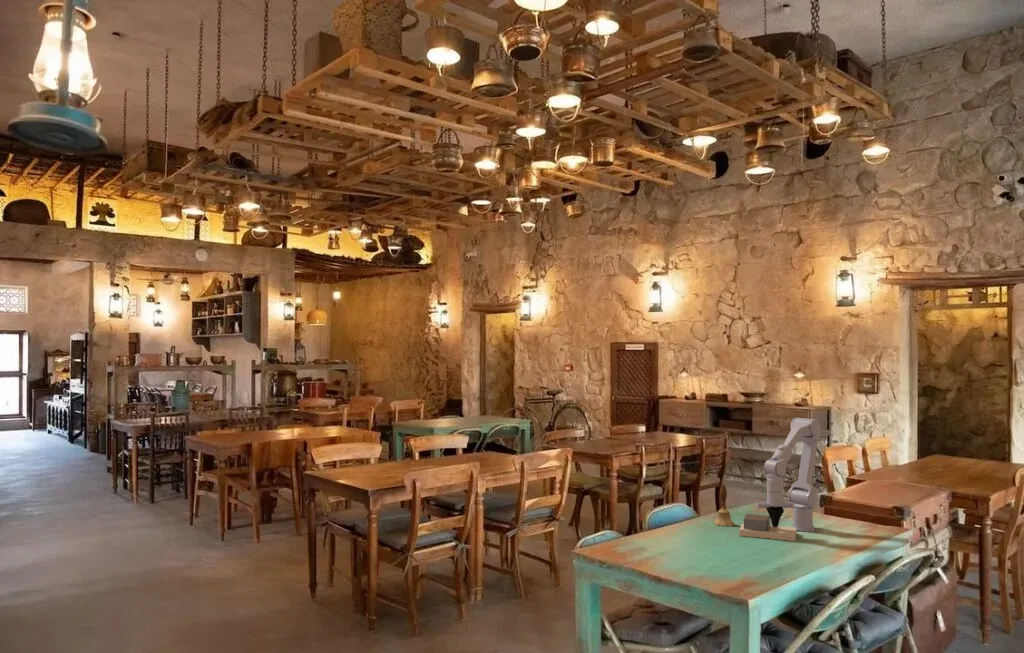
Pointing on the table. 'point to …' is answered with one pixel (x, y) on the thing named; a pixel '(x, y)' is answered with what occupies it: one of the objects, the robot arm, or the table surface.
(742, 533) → the board
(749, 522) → the cover
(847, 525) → the table surface
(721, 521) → the hand bell
